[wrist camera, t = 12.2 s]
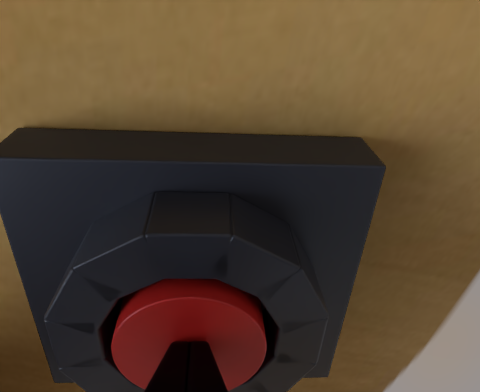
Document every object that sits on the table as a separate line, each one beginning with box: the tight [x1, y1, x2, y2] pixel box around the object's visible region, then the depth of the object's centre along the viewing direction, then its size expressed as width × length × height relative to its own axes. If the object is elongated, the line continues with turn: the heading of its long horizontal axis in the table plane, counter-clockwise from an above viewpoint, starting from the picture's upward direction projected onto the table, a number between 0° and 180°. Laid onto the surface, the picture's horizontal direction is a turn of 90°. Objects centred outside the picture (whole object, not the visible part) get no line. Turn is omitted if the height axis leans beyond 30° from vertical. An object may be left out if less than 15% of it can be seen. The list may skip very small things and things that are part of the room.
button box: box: [0, 128, 386, 392], centre depth 11 cm, size 9×8×4 cm
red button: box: [111, 279, 267, 391], centre depth 10 cm, size 4×4×2 cm
